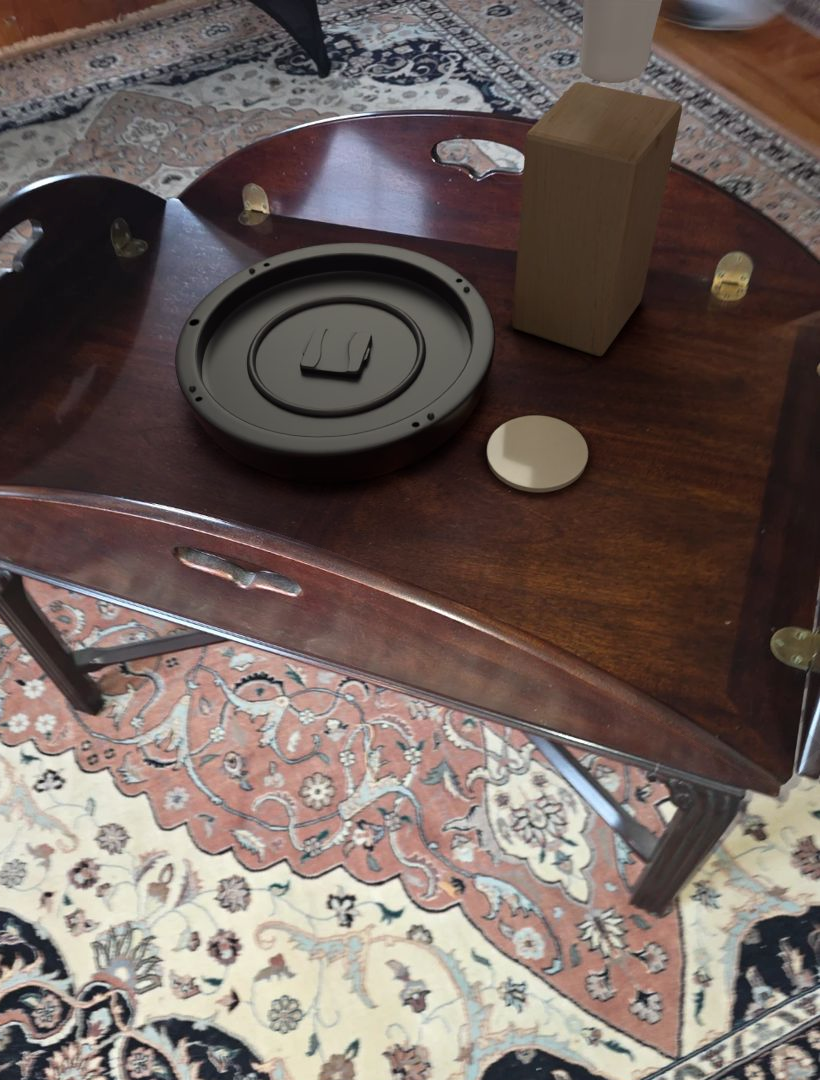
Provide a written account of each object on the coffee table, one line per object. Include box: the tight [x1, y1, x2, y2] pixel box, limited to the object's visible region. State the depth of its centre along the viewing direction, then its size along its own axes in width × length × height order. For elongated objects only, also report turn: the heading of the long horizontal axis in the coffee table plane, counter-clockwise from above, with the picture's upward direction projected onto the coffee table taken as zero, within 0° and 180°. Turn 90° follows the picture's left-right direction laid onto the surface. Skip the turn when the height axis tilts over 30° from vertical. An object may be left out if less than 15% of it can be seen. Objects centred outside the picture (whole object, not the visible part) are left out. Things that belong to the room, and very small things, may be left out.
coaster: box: [485, 415, 589, 493], centre depth 79 cm, size 9×9×1 cm
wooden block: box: [511, 81, 683, 357], centre depth 81 cm, size 10×10×20 cm
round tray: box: [174, 242, 496, 484], centre depth 84 cm, size 30×6×30 cm
